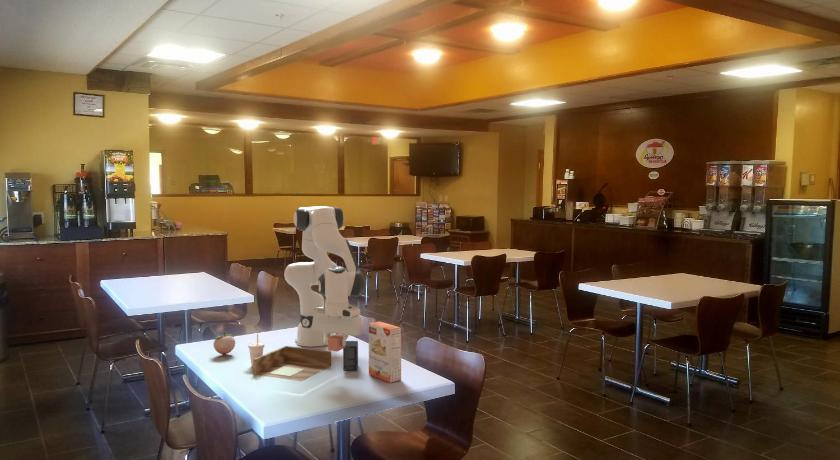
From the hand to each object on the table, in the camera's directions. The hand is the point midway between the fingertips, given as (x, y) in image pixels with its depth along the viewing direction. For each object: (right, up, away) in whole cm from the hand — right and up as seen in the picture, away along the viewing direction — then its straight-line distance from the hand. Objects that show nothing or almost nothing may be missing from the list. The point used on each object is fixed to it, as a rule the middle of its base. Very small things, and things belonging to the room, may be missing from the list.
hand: (336, 344), depth 228 cm
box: (+4, -13, +15) cm, 20 cm away
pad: (-21, -12, +7) cm, 25 cm away
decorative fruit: (-54, -11, +33) cm, 64 cm away
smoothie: (-35, -13, +15) cm, 40 cm away
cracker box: (+18, -14, +3) cm, 23 cm away
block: (0, -2, 0) cm, 2 cm away
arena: (-19, -13, +10) cm, 25 cm away
